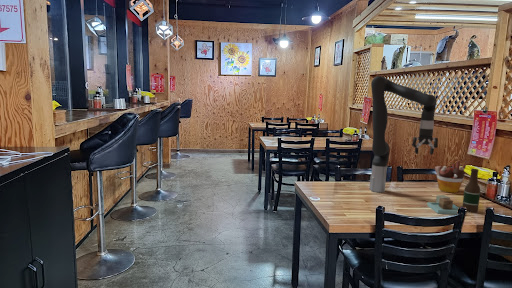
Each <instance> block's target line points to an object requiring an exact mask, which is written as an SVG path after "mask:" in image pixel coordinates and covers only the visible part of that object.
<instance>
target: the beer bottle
mask: <svg viewBox="0 0 512 288" xmlns="http://www.w3.org/2000/svg"><path fill="white" fill-rule="evenodd" d="M470 171H471V172H470V175H469V181H468V183H467V184H466V185H465V187H464V190H463V198H462V199H463V200H462V207H466V208H467V212H466V213H472V214H473V213H474V214H475V213H478V211H479V205H480V199H481V198H480V197H481V187H480V185H479V181H478V177H479V176H478V175H479V169H478V168H471V169H470ZM462 207H461V208H462Z"/></svg>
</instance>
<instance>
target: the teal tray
mask: <svg viewBox="0 0 512 288" xmlns="http://www.w3.org/2000/svg"><path fill="white" fill-rule="evenodd" d="M426 206H427V207H428V208H430V209H431V210H432V211H434V212H435V213H436V214H439V215H441V214H442V215H444V214H445V215H456V214H457V211H458V208H460V207H459V206H457V205H456V204H454V203H453V206H452V210H449V209H442V208H440V207H439V203H436V201H435V202H430V201H429V202H428V201H427V204H426Z"/></svg>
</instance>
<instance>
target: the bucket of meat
mask: <svg viewBox="0 0 512 288" xmlns="http://www.w3.org/2000/svg"><path fill="white" fill-rule="evenodd" d="M460 163H461V162H460V161H459V160H457V161H456V163H453V164H452V165H451V167H447V166H446V165H443V166H441V165H438V166H435V167H434V170H435V173H436V179H437V185H438V190H439V191H441V192H443V191H444V192H445V193H450V194H451V193H452V194H457V193H458V192H459V191H460V188H461V186H462V184H463V181H464V179H465V175H466V172H465V169H466V167H467V165H466V164H463V165H462V166H461V165H460Z"/></svg>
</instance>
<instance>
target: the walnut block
mask: <svg viewBox="0 0 512 288" xmlns="http://www.w3.org/2000/svg"><path fill="white" fill-rule="evenodd" d="M453 204H454V200H452V199H451V198H450V199H449V198H440V200H439V207H440V208H442V209H449V210H452V206H453Z"/></svg>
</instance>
